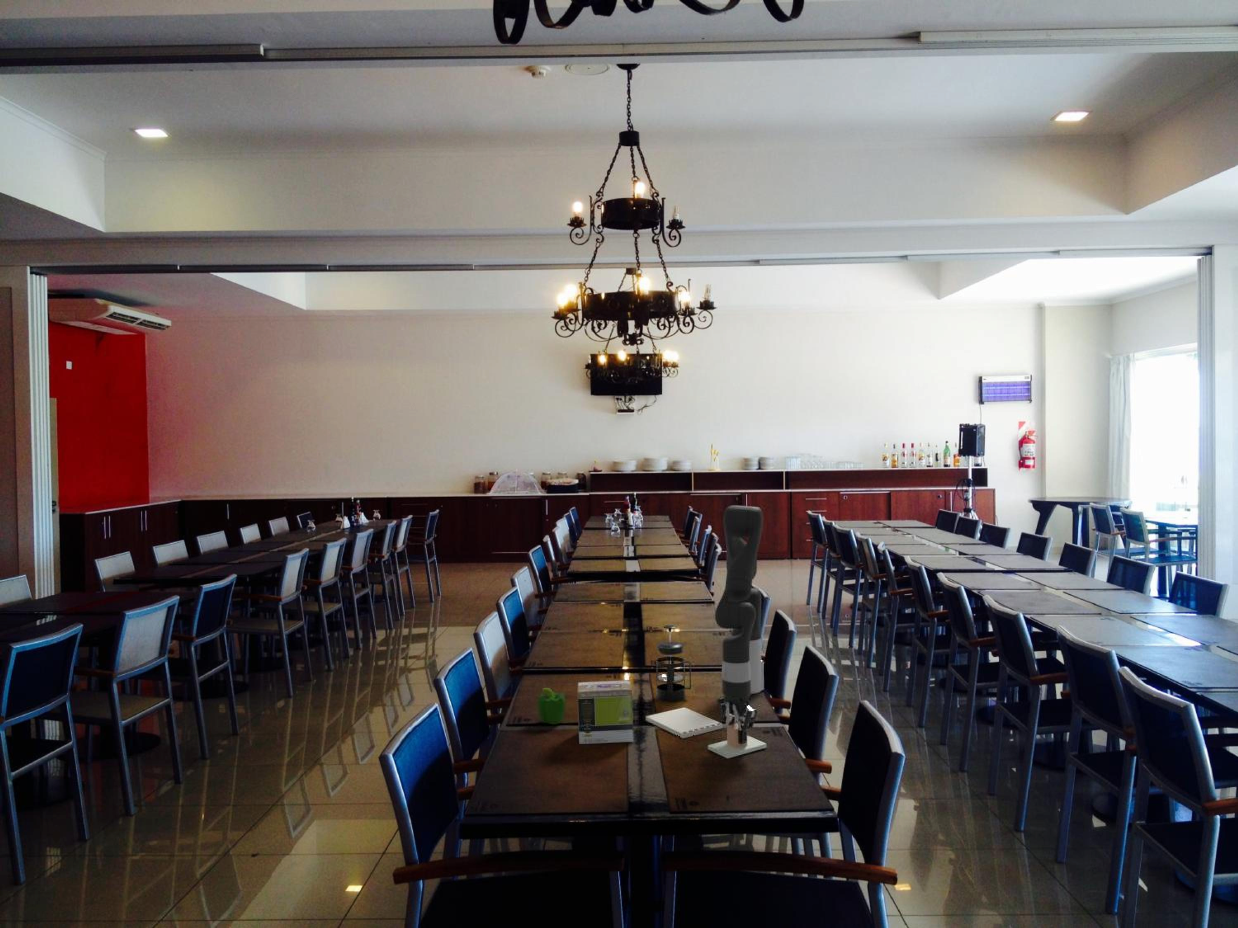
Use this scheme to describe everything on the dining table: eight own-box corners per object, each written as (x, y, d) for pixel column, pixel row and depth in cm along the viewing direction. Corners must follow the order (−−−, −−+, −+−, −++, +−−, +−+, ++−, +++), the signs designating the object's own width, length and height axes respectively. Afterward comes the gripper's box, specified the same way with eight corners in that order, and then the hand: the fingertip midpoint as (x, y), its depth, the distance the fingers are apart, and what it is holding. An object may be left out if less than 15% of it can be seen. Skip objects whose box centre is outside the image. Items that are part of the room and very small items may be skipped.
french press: (653, 701, 271) (651, 628, 270) (655, 692, 280) (654, 622, 279) (690, 702, 269) (689, 629, 268) (691, 693, 279) (690, 622, 278)
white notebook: (646, 720, 253) (646, 715, 253) (684, 711, 261) (684, 706, 261) (682, 738, 238) (682, 733, 238) (722, 727, 246) (722, 723, 246)
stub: (707, 748, 229) (707, 726, 229) (746, 738, 237) (746, 716, 236) (727, 758, 223) (727, 735, 222) (766, 747, 230) (766, 724, 230)
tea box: (631, 730, 245) (630, 678, 245) (633, 743, 235) (632, 689, 235) (578, 732, 245) (577, 680, 244) (578, 744, 235) (577, 691, 234)
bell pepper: (572, 719, 255) (571, 686, 255) (556, 728, 248) (555, 693, 248) (548, 715, 260) (548, 682, 259) (532, 723, 252) (531, 689, 252)
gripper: (765, 680, 225) (765, 746, 226) (730, 668, 237) (730, 730, 238) (743, 685, 221) (743, 752, 222) (708, 673, 233) (709, 736, 234)
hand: (737, 740), depth 230 cm, fingers closed on stub, 3 cm apart
